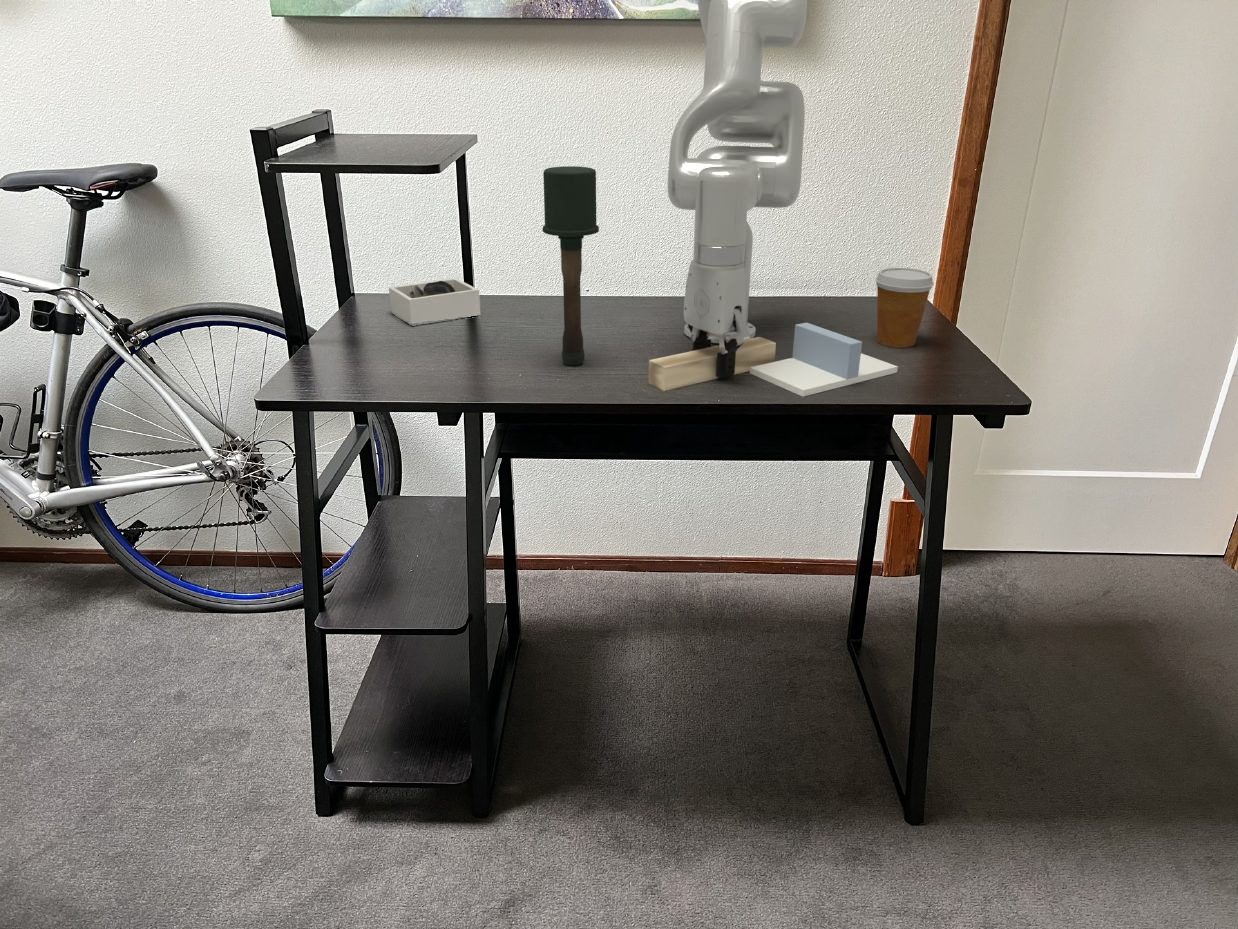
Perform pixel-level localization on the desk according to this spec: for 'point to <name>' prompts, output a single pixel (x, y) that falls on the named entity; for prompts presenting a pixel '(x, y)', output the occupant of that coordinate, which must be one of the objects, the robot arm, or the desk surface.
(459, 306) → the beige open storage bin
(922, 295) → the disposable coffee cup
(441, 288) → the eagle figurine
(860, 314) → the desk surface
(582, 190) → the potato masher grenade
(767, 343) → the rod
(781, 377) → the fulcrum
